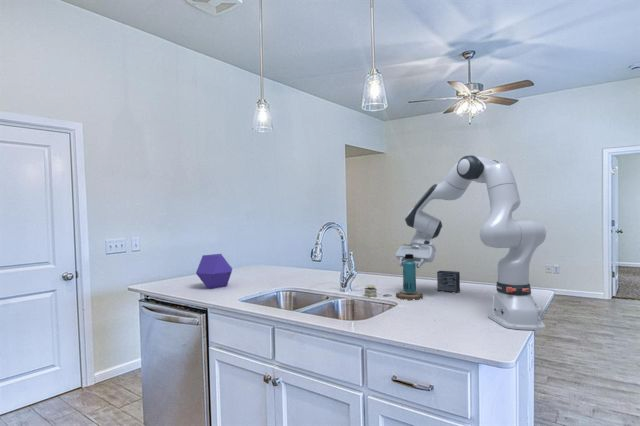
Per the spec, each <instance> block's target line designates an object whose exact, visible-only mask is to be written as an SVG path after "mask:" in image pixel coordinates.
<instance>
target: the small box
mask: <svg viewBox="0 0 640 426" xmlns="http://www.w3.org/2000/svg"><path fill="white" fill-rule="evenodd" d="M460 273H461V272H460V271H455V270H454V271H453V270H452V271H451V270H438V271H437V273H436V275H437V278H436V279H437V281H436V282H437V284H436V285H437V292H440V291H444V292H443V293H452V292H455V293H454V294H458V293H460V292H461V285H460V284H461V282H460V279H461V276H460Z"/></svg>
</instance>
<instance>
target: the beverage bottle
mask: <svg viewBox="0 0 640 426" xmlns="http://www.w3.org/2000/svg"><path fill="white" fill-rule="evenodd" d="M405 259H413V254H405ZM416 265H417V263H416V261H407V260H404V261H403V266H402V277H403V278H402V281H403V282H402V288H403V292H416V291H417V280H416V279H417V278H416V276H417V274H416V272H417V270H416V269H417V267H416Z"/></svg>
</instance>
